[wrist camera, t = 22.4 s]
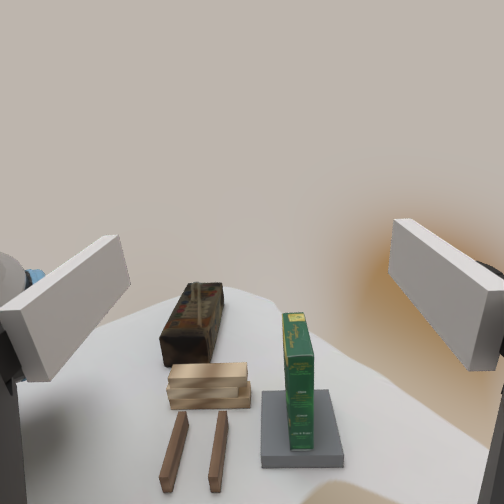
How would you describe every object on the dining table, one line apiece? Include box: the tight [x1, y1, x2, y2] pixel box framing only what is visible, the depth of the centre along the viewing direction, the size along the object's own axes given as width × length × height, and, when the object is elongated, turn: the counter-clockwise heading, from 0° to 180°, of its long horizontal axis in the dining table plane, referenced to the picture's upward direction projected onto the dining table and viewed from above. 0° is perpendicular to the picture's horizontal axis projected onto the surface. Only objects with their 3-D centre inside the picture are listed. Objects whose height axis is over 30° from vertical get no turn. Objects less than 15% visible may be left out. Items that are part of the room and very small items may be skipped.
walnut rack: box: [159, 411, 228, 492], centre depth 36 cm, size 6×8×2 cm
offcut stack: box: [166, 362, 251, 410], centre depth 43 cm, size 11×3×5 cm, turn 88°
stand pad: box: [261, 390, 344, 468], centre depth 39 cm, size 9×9×2 cm
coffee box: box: [282, 312, 314, 451], centre depth 36 cm, size 8×3×13 cm, turn 178°
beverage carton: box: [159, 282, 224, 367], centre depth 58 cm, size 8×19×7 cm, turn 177°
